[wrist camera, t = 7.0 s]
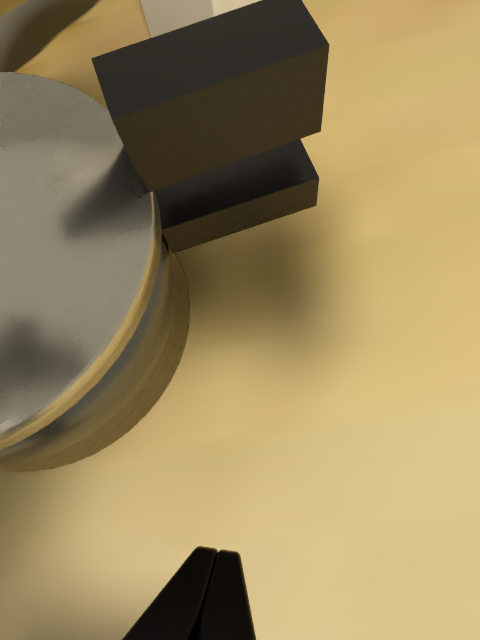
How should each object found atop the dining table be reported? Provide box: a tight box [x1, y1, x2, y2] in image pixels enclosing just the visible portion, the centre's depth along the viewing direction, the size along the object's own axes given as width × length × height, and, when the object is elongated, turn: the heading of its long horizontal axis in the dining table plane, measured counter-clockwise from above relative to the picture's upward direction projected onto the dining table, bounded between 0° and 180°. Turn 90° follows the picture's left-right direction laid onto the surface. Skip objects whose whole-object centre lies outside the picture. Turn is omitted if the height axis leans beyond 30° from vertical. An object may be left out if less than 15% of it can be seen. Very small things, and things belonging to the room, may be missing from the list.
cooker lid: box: [0, 0, 329, 450], centre depth 16 cm, size 23×17×5 cm
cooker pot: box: [0, 139, 319, 471], centre depth 22 cm, size 26×16×7 cm, turn 108°
